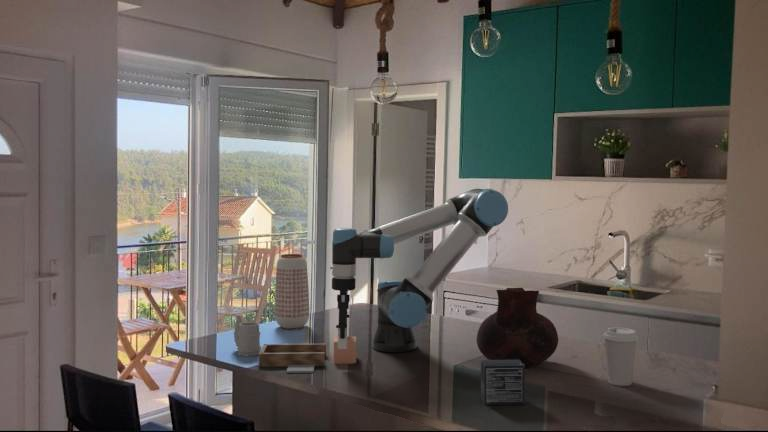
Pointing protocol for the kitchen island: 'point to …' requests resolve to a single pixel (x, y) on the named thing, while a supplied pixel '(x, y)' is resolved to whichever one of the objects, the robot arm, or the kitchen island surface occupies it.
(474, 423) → the kitchen island surface
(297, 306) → the patterned vase
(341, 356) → the block
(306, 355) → the wooden tray
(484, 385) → the small box
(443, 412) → the kitchen island surface
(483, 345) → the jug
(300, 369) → the mat
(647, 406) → the kitchen island surface
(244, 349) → the mug
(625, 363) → the coffee cup
